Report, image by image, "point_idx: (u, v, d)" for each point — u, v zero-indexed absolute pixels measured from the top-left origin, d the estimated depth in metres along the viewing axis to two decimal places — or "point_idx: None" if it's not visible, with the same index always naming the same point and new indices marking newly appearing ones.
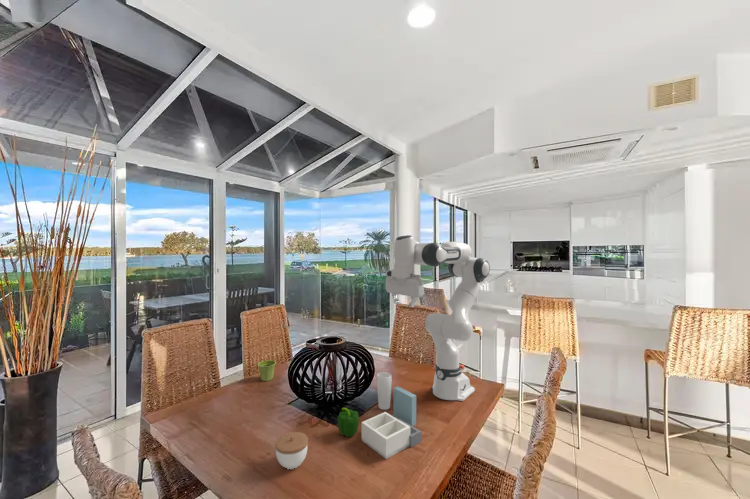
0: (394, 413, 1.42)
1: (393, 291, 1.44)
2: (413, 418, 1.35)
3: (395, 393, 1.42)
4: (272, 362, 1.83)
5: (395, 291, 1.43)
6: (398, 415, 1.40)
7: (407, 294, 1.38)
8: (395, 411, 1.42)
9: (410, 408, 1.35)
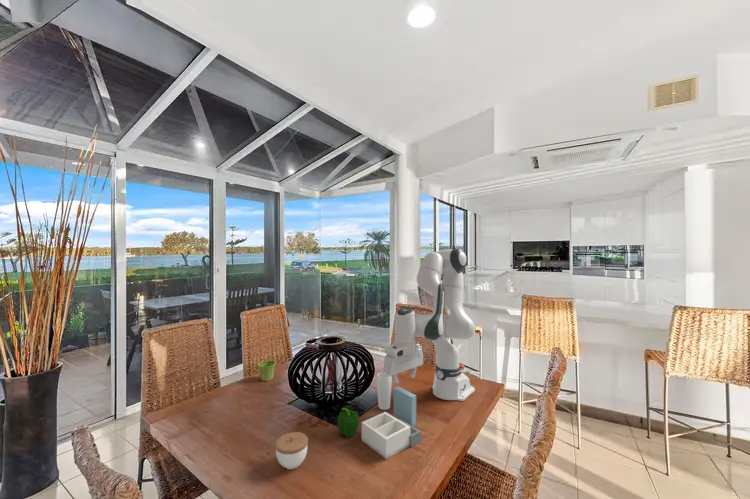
0: (394, 413, 1.42)
1: (399, 371, 1.34)
2: (413, 418, 1.35)
3: (395, 393, 1.42)
4: (272, 362, 1.83)
5: (401, 369, 1.35)
6: (398, 415, 1.40)
7: (413, 366, 1.40)
8: (395, 411, 1.42)
9: (410, 408, 1.35)
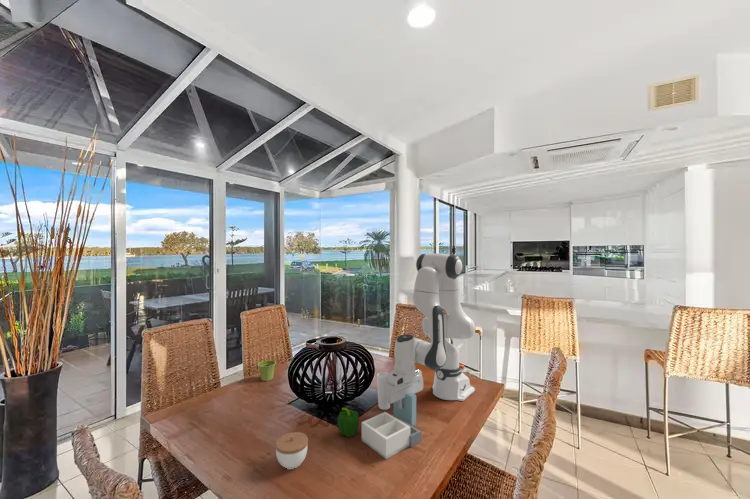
0: (394, 413, 1.42)
1: (399, 398, 1.35)
2: (413, 418, 1.35)
3: None
4: (272, 362, 1.83)
5: (401, 397, 1.36)
6: (398, 415, 1.40)
7: (414, 392, 1.40)
8: (395, 411, 1.42)
9: (410, 408, 1.35)
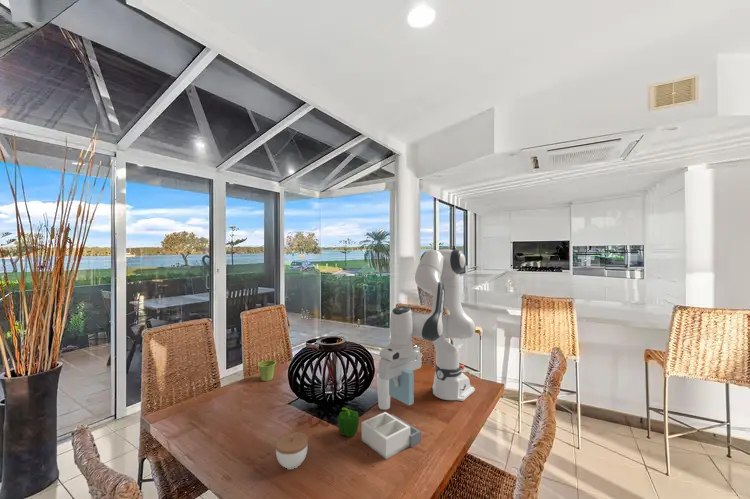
0: (390, 393, 1.31)
1: (395, 375, 1.23)
2: (410, 397, 1.23)
3: None
4: (272, 362, 1.83)
5: (397, 374, 1.24)
6: (394, 394, 1.29)
7: (411, 370, 1.29)
8: (391, 390, 1.30)
9: (407, 386, 1.23)
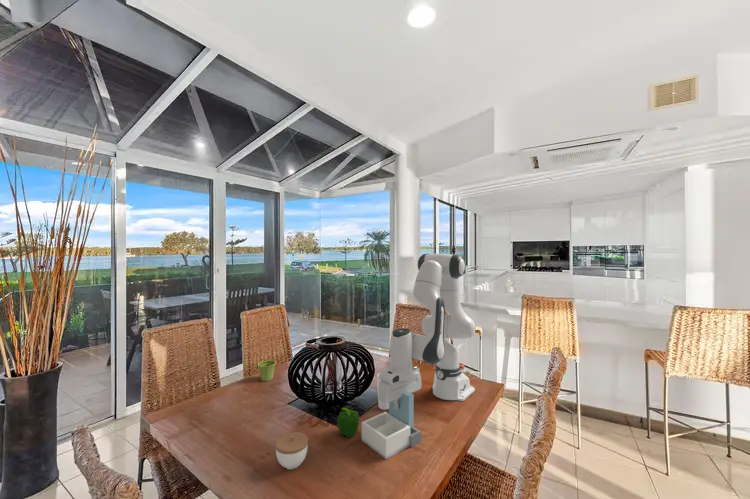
0: (390, 414, 1.31)
1: (395, 398, 1.23)
2: (410, 419, 1.23)
3: None
4: (272, 362, 1.83)
5: (397, 396, 1.24)
6: (394, 416, 1.29)
7: (411, 392, 1.29)
8: (391, 412, 1.30)
9: (406, 409, 1.24)
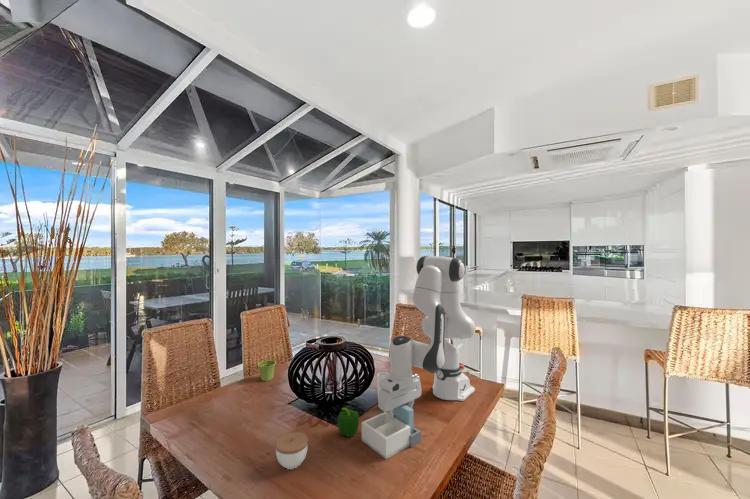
0: None
1: (395, 406, 1.24)
2: (410, 434, 1.24)
3: None
4: (272, 362, 1.83)
5: (397, 404, 1.24)
6: None
7: (411, 399, 1.29)
8: None
9: (406, 423, 1.24)
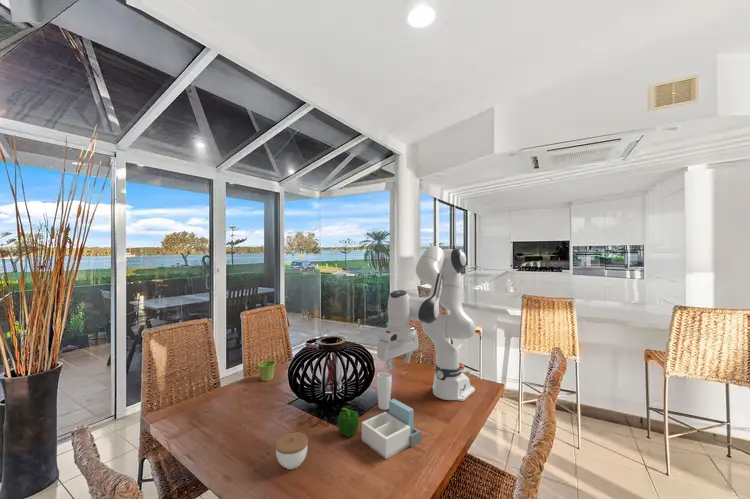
0: None
1: (393, 356, 1.28)
2: (410, 434, 1.24)
3: (391, 406, 1.30)
4: (272, 362, 1.83)
5: (395, 355, 1.29)
6: None
7: (408, 351, 1.33)
8: None
9: (406, 423, 1.24)
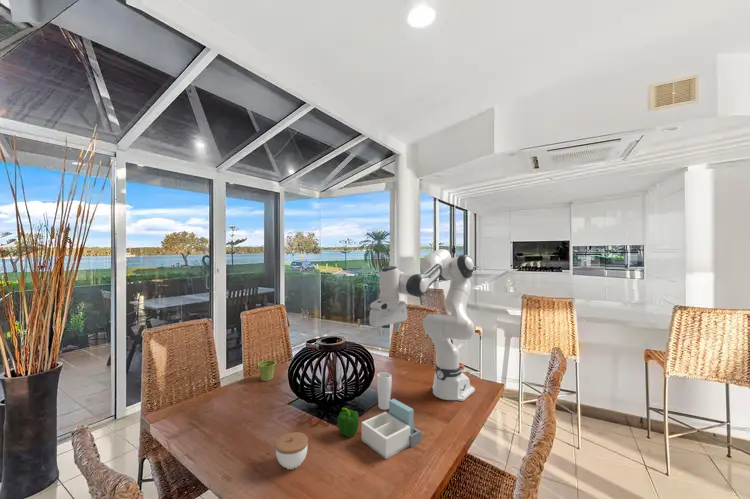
0: None
1: (383, 323, 1.43)
2: (410, 434, 1.24)
3: (391, 406, 1.30)
4: (272, 362, 1.83)
5: (386, 322, 1.44)
6: None
7: (398, 321, 1.49)
8: None
9: (406, 423, 1.24)
